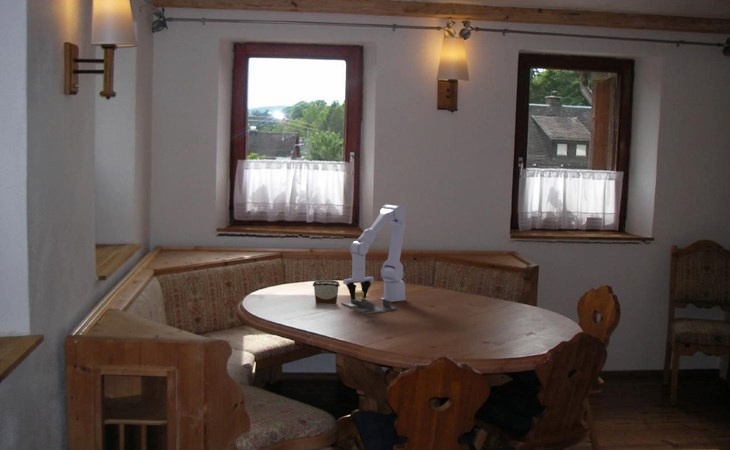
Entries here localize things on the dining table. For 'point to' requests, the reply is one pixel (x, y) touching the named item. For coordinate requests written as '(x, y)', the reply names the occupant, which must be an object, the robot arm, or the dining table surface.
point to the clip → (359, 294)
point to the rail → (363, 306)
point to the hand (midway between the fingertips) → (358, 298)
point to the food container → (326, 291)
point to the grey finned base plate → (387, 305)
